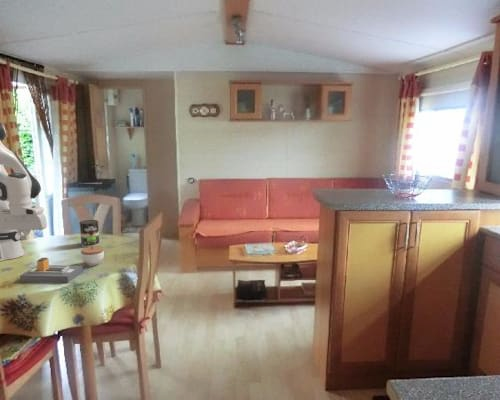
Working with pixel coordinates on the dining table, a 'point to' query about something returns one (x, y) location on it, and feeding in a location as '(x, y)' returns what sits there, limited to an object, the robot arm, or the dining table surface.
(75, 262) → the dining table surface
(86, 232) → the coffee can
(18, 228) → the robot arm
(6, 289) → the dining table surface
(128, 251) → the dining table surface
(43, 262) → the lever
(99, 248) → the lidded jar
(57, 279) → the panel
